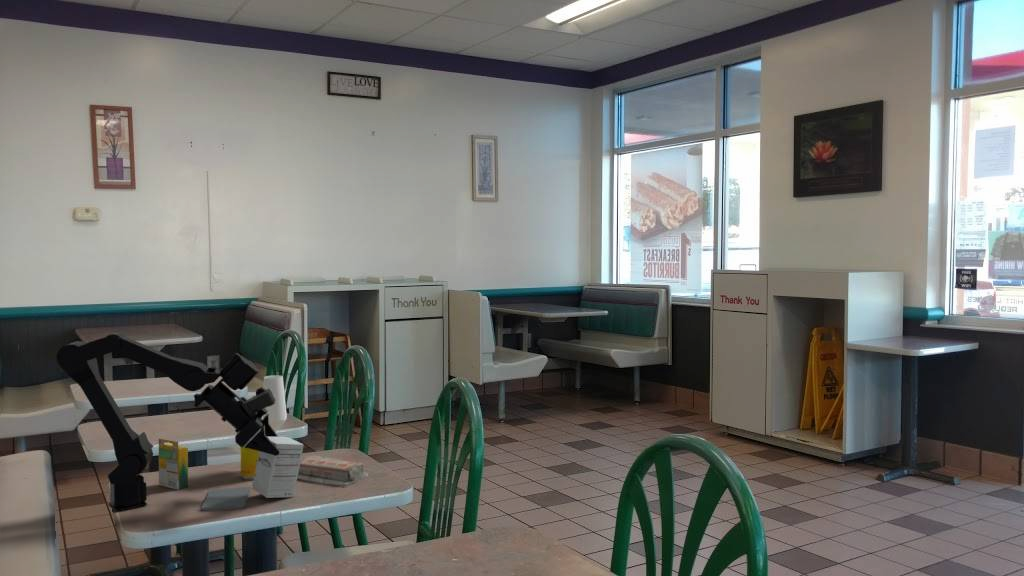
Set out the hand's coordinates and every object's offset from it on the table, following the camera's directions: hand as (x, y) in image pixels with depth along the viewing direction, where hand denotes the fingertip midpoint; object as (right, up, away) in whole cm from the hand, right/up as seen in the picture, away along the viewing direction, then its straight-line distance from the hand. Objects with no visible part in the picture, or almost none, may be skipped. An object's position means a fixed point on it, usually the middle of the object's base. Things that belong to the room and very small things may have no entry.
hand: (279, 448), depth 184 cm
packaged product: (+8, -11, +17) cm, 21 cm away
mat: (-11, -11, -2) cm, 16 cm away
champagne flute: (-9, -10, +25) cm, 29 cm away
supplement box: (-2, -11, 0) cm, 11 cm away
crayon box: (-28, -11, +8) cm, 31 cm away
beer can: (-11, -11, +16) cm, 23 cm away
